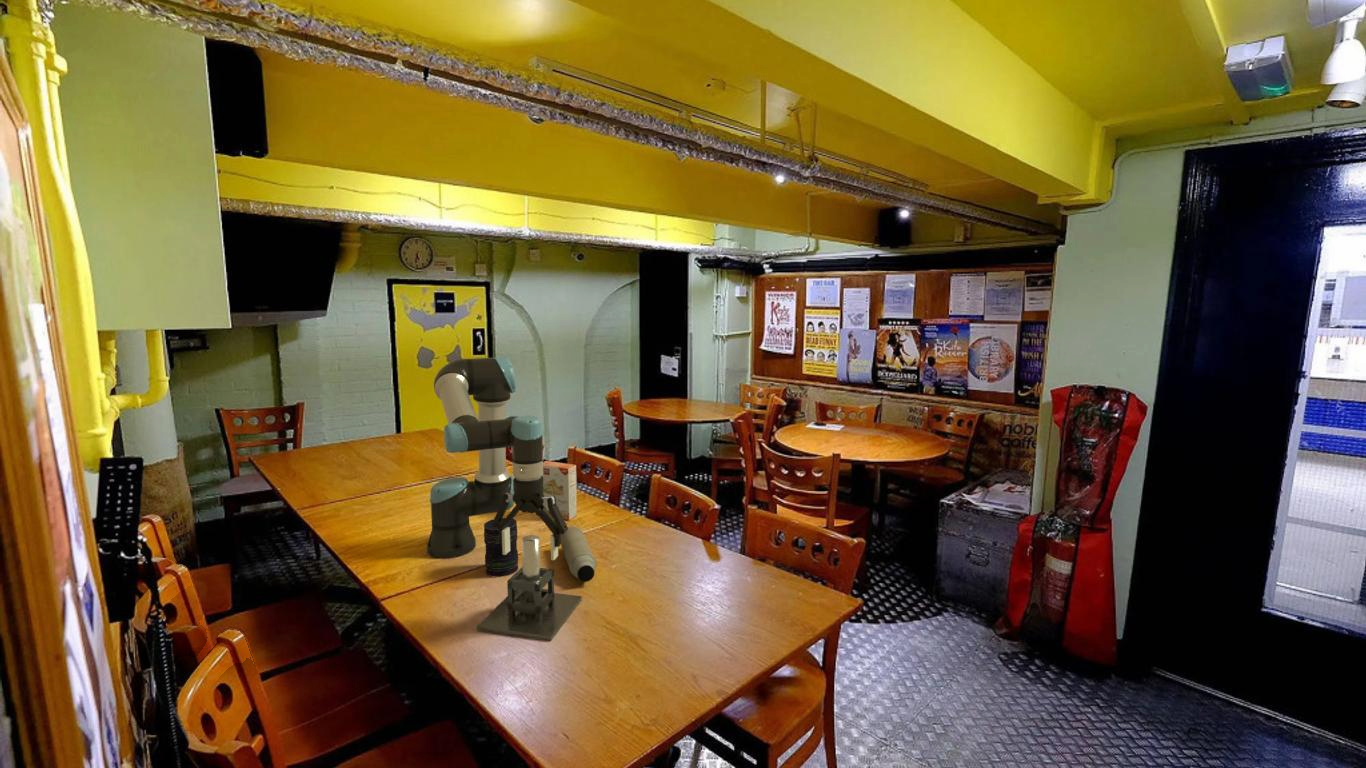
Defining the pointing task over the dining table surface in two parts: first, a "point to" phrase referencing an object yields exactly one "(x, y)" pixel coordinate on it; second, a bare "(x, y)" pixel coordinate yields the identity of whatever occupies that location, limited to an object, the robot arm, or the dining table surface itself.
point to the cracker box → (561, 487)
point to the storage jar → (500, 550)
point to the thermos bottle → (578, 554)
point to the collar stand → (531, 609)
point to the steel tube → (530, 565)
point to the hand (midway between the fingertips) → (530, 555)
